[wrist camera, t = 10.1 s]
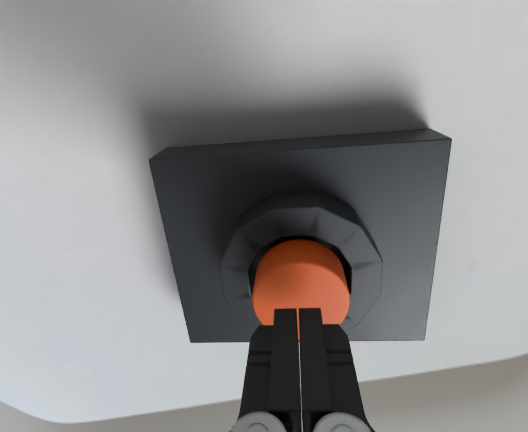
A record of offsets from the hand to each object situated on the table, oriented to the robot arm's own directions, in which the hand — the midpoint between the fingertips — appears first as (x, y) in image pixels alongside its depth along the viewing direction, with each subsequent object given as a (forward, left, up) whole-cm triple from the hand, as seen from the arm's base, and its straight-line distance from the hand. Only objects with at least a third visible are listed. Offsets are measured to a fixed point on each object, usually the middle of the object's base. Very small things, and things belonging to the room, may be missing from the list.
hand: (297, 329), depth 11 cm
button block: (0, 0, -7) cm, 7 cm away
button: (0, 0, -3) cm, 3 cm away
